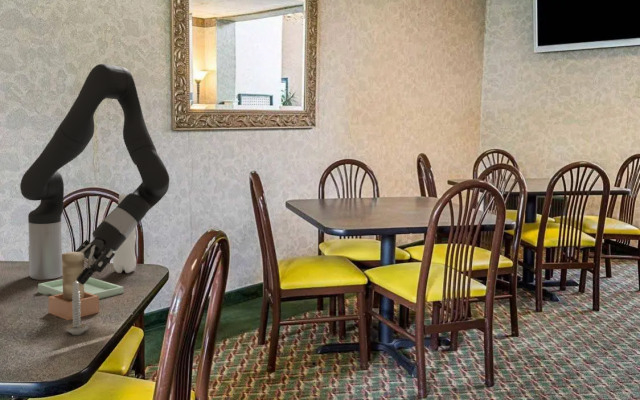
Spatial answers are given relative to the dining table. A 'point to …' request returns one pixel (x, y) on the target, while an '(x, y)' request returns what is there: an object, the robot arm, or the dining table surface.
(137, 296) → the dining table surface
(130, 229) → the robot arm
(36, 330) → the dining table surface
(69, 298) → the birch pin
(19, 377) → the dining table surface
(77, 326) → the screw
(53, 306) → the terracotta holder
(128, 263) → the water bottle
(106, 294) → the pale green tray
